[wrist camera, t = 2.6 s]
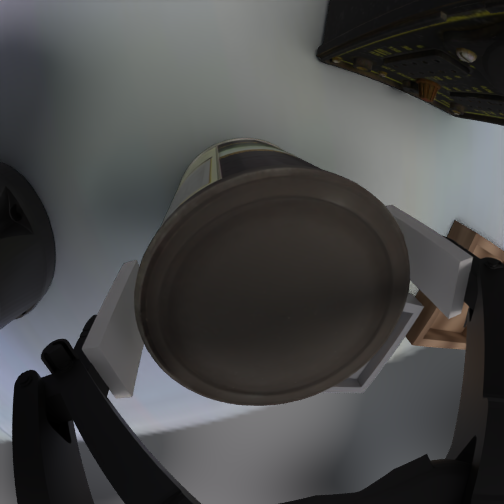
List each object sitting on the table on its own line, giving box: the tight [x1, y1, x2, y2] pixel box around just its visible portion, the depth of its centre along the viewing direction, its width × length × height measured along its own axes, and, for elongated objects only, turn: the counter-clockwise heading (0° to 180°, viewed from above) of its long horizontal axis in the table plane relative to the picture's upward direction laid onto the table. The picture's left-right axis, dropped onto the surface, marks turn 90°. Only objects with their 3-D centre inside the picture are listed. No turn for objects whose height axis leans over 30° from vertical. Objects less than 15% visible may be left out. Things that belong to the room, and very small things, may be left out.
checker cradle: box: [323, 293, 424, 393], centre depth 29 cm, size 13×13×2 cm
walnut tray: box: [406, 220, 504, 349], centre depth 29 cm, size 14×14×4 cm
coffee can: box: [134, 138, 410, 406], centre depth 17 cm, size 10×10×14 cm
